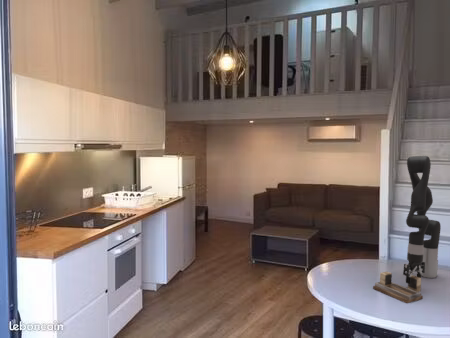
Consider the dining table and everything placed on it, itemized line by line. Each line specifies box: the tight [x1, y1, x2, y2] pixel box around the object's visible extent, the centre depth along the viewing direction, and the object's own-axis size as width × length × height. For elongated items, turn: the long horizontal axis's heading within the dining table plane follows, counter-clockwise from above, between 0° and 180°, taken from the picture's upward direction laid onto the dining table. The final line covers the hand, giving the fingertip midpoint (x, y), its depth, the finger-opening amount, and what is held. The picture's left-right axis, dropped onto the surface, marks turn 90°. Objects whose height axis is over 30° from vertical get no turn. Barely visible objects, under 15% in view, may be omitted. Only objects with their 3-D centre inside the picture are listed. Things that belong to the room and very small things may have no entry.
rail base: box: [372, 271, 424, 304], centre depth 193 cm, size 12×20×8 cm, turn 28°
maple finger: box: [407, 274, 422, 293], centre depth 199 cm, size 5×3×7 cm, turn 28°
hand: (413, 282), depth 199 cm, fingers open, 8 cm apart
